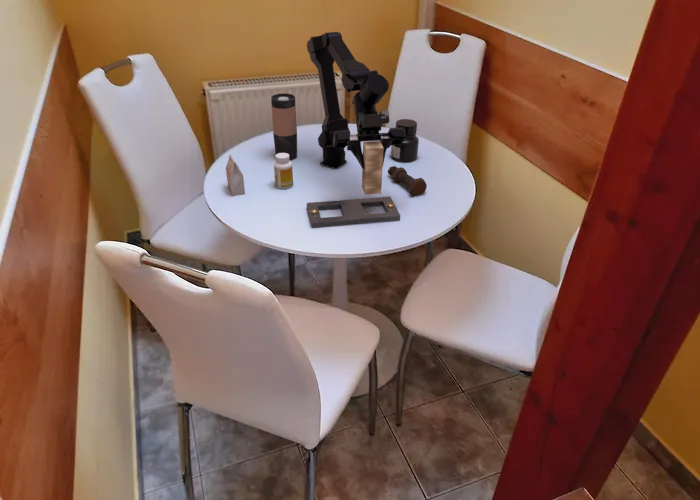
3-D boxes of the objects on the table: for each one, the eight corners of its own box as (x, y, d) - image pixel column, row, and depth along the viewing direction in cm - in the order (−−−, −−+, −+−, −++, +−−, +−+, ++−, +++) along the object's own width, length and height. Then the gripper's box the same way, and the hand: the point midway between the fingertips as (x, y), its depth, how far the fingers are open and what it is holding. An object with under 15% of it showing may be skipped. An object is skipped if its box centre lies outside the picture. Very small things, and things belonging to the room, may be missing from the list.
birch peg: (364, 194, 142) (366, 148, 134) (361, 186, 145) (363, 141, 138) (381, 193, 142) (383, 147, 135) (377, 185, 146) (379, 141, 139)
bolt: (393, 180, 168) (420, 199, 157) (381, 176, 165) (408, 195, 154) (401, 163, 167) (430, 181, 156) (390, 159, 164) (418, 177, 153)
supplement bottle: (296, 183, 162) (295, 153, 156) (287, 191, 158) (285, 160, 152) (281, 179, 163) (279, 150, 158) (271, 187, 159) (269, 157, 154)
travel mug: (302, 155, 179) (300, 96, 168) (288, 163, 173) (285, 102, 162) (284, 150, 182) (281, 91, 171) (270, 157, 177) (265, 98, 166)
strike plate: (311, 228, 141) (311, 221, 139) (306, 207, 149) (306, 200, 148) (400, 220, 144) (400, 213, 143) (390, 201, 153) (390, 194, 152)
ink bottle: (391, 150, 183) (393, 116, 176) (416, 152, 182) (419, 118, 176) (390, 162, 175) (392, 127, 168) (417, 164, 174) (420, 128, 168)
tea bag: (240, 184, 161) (236, 153, 155) (245, 194, 156) (241, 162, 150) (227, 186, 160) (224, 155, 154) (232, 196, 155) (228, 164, 149)
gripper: (334, 100, 133) (340, 159, 130) (406, 97, 136) (415, 155, 133) (330, 119, 144) (336, 174, 141) (397, 116, 147) (404, 170, 144)
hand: (372, 168), depth 140 cm, fingers closed on birch peg, 4 cm apart
